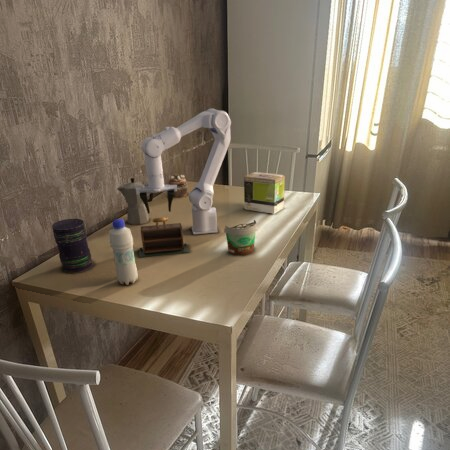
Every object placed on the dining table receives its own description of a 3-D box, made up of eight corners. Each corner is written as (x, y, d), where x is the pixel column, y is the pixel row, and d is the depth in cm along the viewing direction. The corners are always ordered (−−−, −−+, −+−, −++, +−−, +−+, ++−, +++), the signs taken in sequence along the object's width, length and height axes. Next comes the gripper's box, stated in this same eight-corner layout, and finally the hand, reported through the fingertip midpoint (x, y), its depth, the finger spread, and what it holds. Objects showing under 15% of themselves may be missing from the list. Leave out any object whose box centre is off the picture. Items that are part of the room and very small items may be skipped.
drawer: (183, 249, 145) (181, 217, 140) (143, 253, 143) (139, 221, 138) (182, 245, 150) (179, 214, 145) (143, 248, 148) (139, 217, 143)
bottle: (118, 277, 130) (107, 216, 120) (140, 275, 131) (131, 215, 121) (115, 287, 125) (103, 224, 114) (138, 285, 125) (128, 223, 115)
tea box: (284, 208, 183) (285, 174, 176) (274, 214, 176) (275, 179, 168) (254, 203, 190) (254, 170, 183) (243, 209, 183) (243, 175, 176)
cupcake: (167, 197, 202) (165, 176, 197) (172, 191, 210) (170, 171, 205) (186, 197, 201) (184, 177, 196) (190, 192, 209) (189, 172, 204)
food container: (233, 259, 139) (232, 231, 134) (224, 253, 144) (223, 226, 138) (264, 252, 144) (264, 224, 138) (255, 245, 148) (255, 219, 143)
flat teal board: (188, 252, 145) (188, 249, 145) (139, 257, 143) (139, 254, 142) (187, 245, 151) (186, 242, 150) (139, 249, 148) (139, 247, 148)
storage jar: (76, 275, 132) (65, 231, 125) (56, 269, 137) (44, 226, 129) (99, 263, 139) (90, 221, 132) (79, 257, 144) (69, 216, 136)
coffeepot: (125, 227, 169) (117, 183, 160) (120, 220, 176) (113, 177, 167) (161, 221, 174) (156, 177, 164) (155, 214, 181) (150, 172, 172)
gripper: (133, 178, 141) (139, 217, 148) (176, 175, 143) (179, 213, 150) (134, 173, 147) (139, 210, 154) (174, 170, 149) (178, 207, 156)
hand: (159, 211), depth 152 cm, fingers open, 7 cm apart
